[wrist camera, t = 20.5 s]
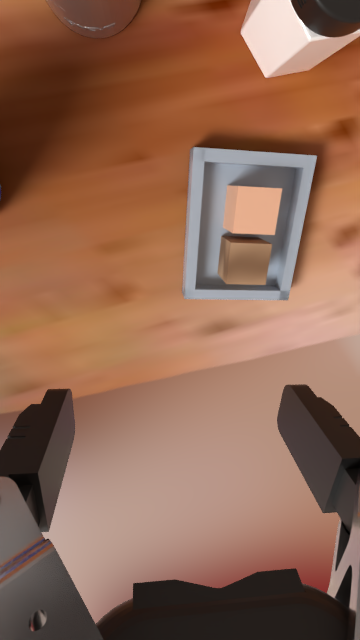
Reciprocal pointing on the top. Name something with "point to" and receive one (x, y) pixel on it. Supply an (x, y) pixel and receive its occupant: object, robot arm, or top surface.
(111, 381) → the top surface
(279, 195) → the block terracotta
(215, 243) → the tray
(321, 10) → the jar
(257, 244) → the block walnut
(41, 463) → the robot arm
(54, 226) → the top surface
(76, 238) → the top surface
